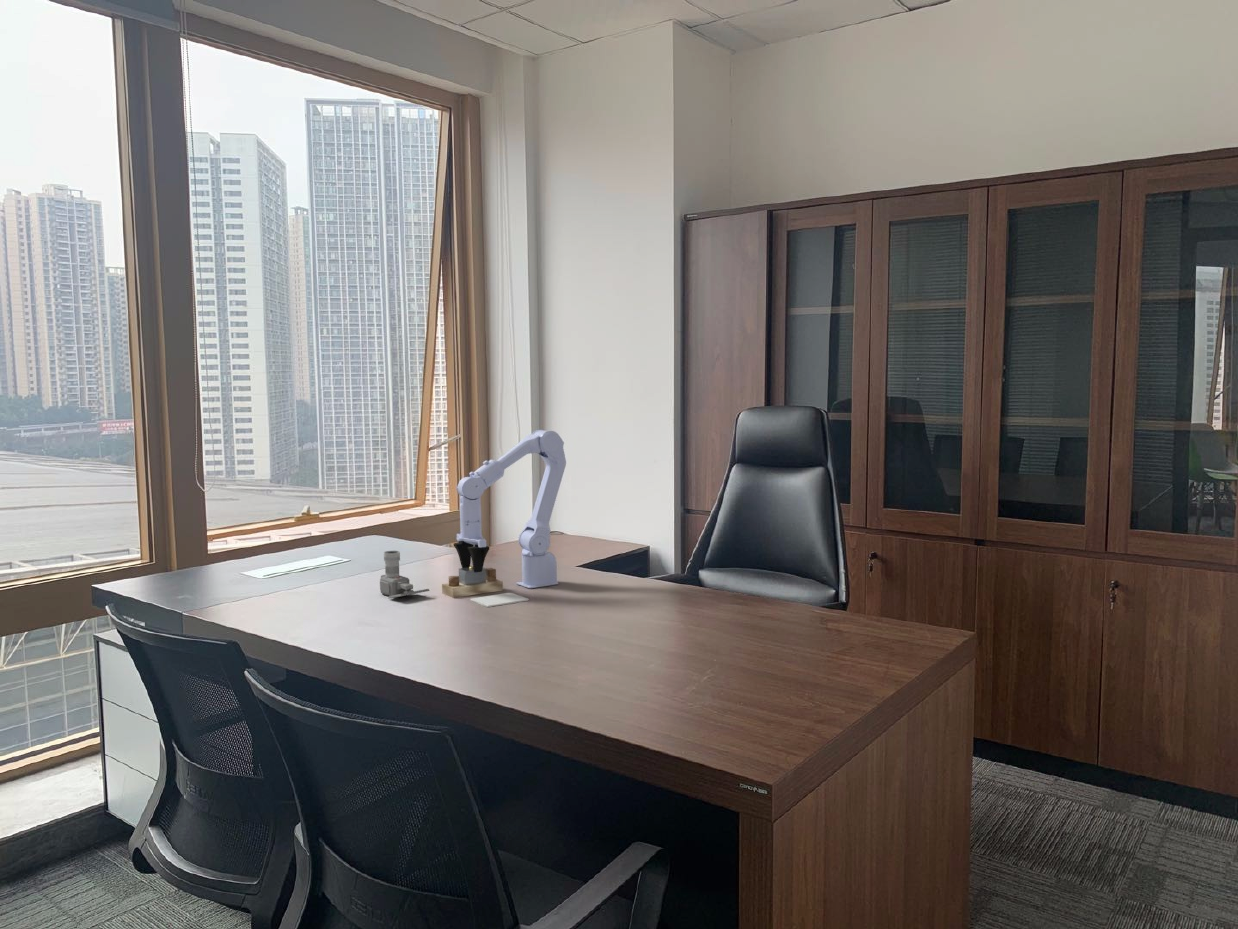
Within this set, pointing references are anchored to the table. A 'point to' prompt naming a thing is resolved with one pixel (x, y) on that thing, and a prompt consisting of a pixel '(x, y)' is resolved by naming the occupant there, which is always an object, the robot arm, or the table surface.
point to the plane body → (461, 590)
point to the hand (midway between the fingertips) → (471, 569)
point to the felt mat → (499, 599)
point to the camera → (395, 578)
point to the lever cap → (471, 576)
